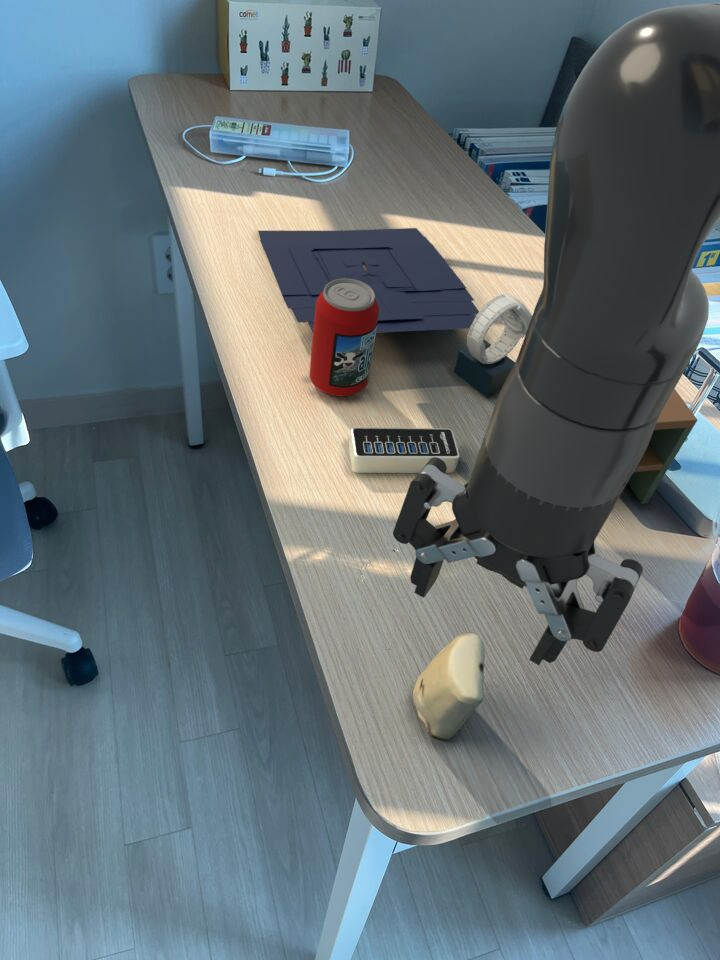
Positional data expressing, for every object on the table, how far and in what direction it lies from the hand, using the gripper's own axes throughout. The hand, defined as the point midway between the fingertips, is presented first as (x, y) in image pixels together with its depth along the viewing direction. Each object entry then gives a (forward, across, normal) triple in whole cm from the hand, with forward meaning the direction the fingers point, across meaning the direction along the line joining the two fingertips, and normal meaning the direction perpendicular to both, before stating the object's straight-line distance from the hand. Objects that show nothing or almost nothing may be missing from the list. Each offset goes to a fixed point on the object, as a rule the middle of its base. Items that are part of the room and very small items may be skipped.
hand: (481, 619), depth 50 cm
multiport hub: (+14, -17, +23) cm, 32 cm away
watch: (+14, -16, +41) cm, 46 cm away
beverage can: (+14, -29, +29) cm, 43 cm away
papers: (+14, -36, +48) cm, 61 cm away
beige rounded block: (+14, 0, 0) cm, 14 cm away
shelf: (+14, 0, +35) cm, 37 cm away
